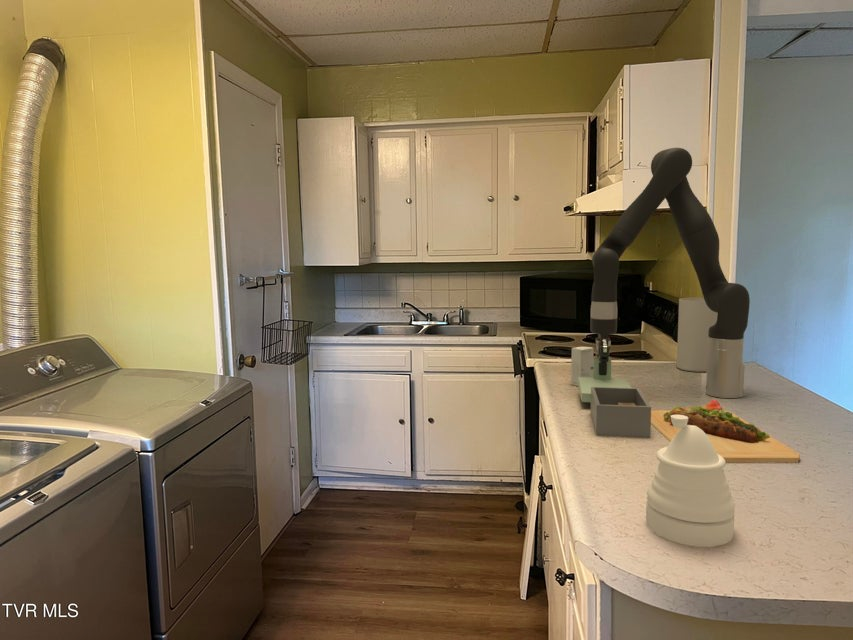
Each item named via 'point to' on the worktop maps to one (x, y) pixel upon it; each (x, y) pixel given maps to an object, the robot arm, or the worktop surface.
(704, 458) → the honey pot
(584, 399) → the lid
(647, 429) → the tub
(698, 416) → the cutting board
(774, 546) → the worktop surface
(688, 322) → the cylinder vase
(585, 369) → the skincare box
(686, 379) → the worktop surface
